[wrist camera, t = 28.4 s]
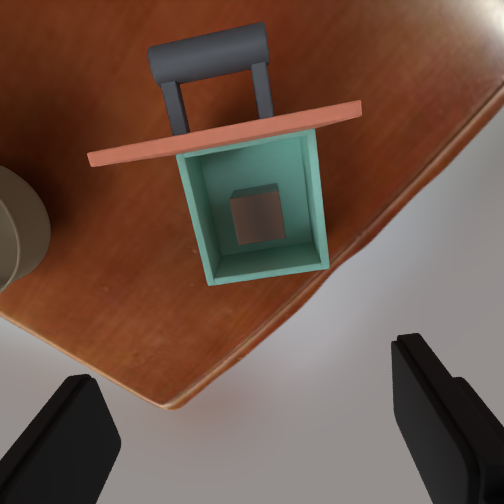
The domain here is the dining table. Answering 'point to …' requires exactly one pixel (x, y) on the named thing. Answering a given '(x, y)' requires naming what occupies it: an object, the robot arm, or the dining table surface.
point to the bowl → (20, 228)
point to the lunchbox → (252, 175)
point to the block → (257, 214)
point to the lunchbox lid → (211, 65)
